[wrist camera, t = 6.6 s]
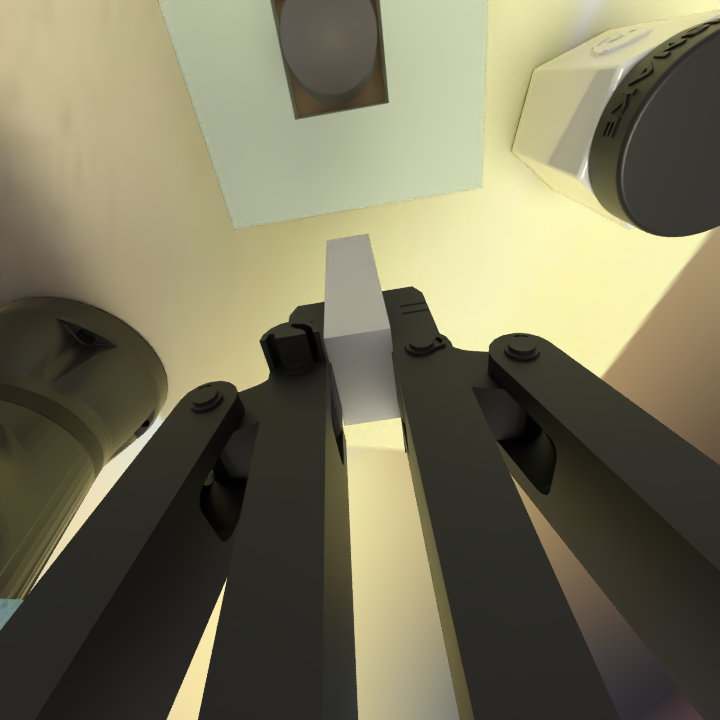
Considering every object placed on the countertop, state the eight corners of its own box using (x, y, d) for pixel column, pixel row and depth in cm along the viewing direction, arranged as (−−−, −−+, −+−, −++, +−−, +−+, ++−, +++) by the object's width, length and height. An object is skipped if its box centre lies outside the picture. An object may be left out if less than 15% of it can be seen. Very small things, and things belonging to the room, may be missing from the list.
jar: (647, 3, 23) (877, -53, 13) (651, 147, 27) (826, 185, 18) (496, 84, 25) (598, 87, 15) (522, 205, 29) (615, 269, 19)
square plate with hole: (241, 219, 26) (234, 229, 24) (129, -132, 17) (107, -154, 15) (472, 180, 25) (482, 188, 23) (479, -209, 16) (494, -240, 15)
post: (245, 214, 29) (184, 303, 17) (143, -116, 19) (-133, -392, 8) (467, 177, 28) (555, 245, 16) (469, -187, 19) (674, -603, 7)
